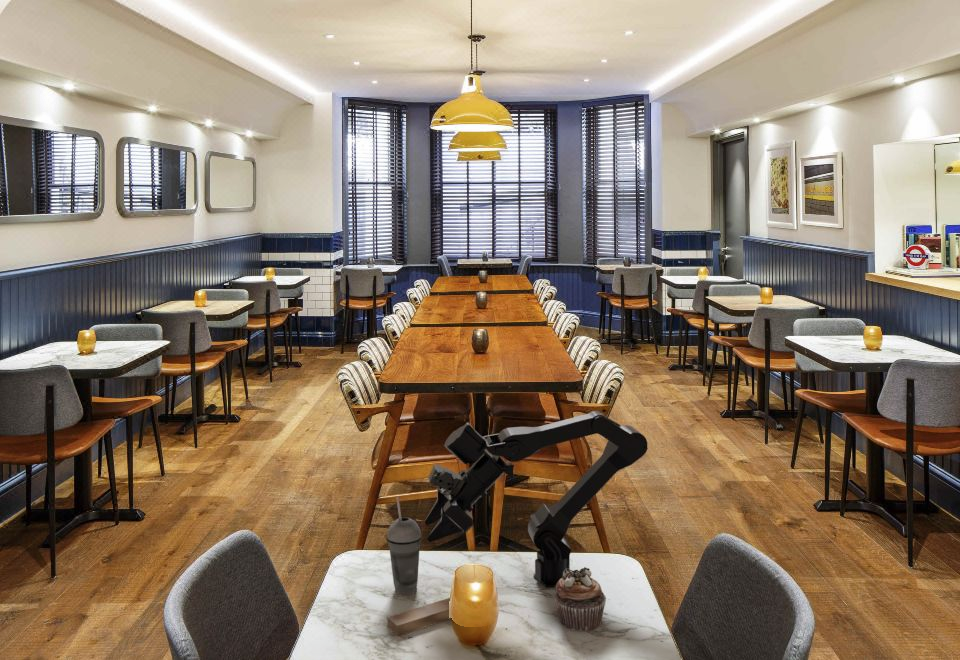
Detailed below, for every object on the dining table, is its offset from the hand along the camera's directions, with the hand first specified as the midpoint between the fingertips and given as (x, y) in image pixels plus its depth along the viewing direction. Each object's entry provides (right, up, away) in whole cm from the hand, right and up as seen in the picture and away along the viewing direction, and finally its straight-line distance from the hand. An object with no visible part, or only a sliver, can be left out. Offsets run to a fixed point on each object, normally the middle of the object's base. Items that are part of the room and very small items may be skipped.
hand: (426, 532), depth 173 cm
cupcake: (+30, -14, -13) cm, 36 cm away
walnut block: (+1, -14, -12) cm, 18 cm away
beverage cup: (-4, -13, +1) cm, 13 cm away
